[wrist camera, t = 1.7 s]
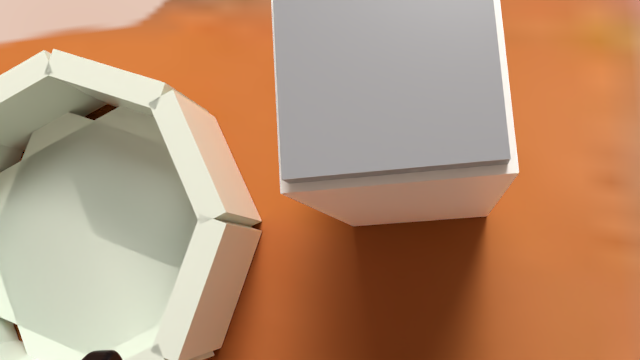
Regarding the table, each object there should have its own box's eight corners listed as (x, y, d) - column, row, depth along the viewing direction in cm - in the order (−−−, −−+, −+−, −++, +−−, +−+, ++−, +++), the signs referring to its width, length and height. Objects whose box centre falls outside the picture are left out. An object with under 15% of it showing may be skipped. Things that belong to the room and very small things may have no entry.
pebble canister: (487, 216, 22) (522, 168, 12) (352, 226, 23) (272, 189, 13) (473, 85, 23) (495, -72, 12) (344, 100, 24) (262, -34, 13)
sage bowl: (187, 445, 23) (135, 480, 19) (-66, 327, 26) (-154, 337, 22) (294, 138, 24) (265, 113, 20) (38, 58, 27) (-30, 23, 23)
